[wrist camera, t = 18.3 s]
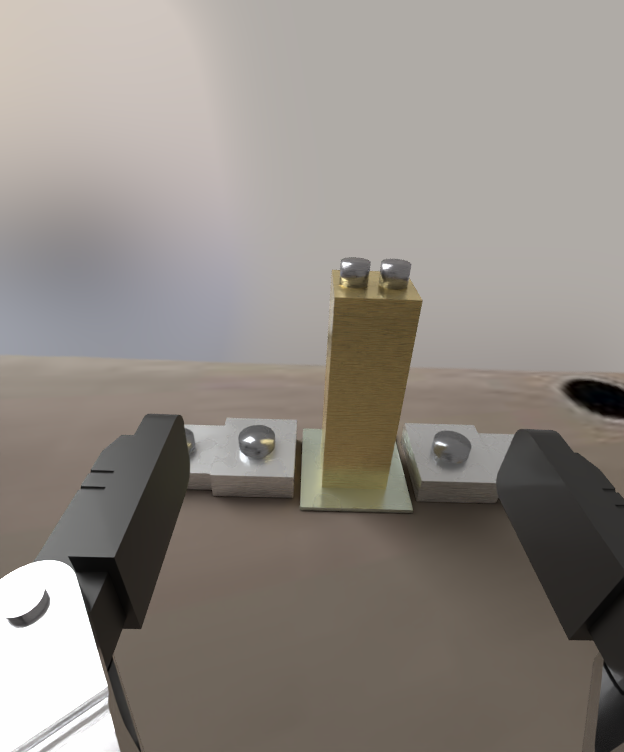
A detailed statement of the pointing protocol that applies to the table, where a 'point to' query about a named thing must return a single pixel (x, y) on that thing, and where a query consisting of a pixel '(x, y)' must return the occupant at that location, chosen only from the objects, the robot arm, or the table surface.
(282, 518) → the table surface
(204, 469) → the studded plate chain
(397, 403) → the tall studded toy brick
